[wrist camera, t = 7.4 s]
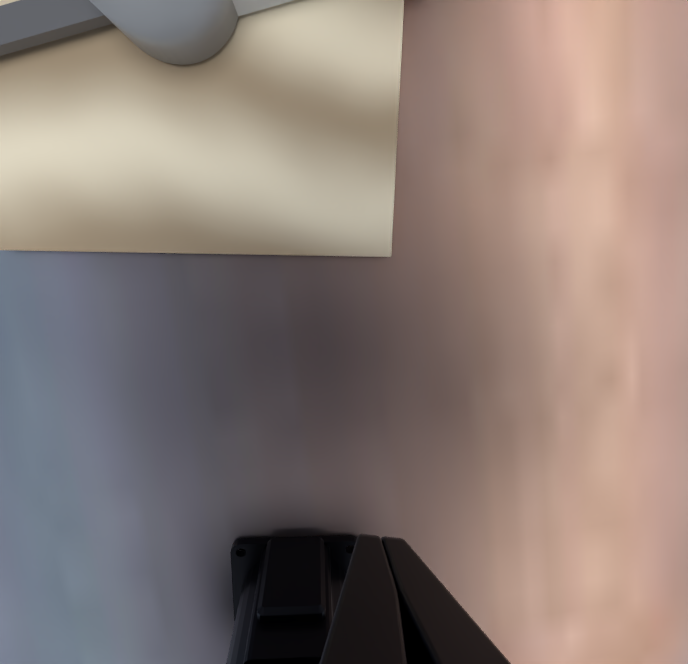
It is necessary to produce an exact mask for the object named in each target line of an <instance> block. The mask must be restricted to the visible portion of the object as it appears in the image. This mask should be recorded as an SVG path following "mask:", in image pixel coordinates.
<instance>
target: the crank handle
mask: <svg viewBox="0 0 688 664" xmlns="http://www.w3.org/2000/svg"><path fill="white" fill-rule="evenodd" d="M290 1H294V0H19V1H15V2H12V3H8V4H5V5H1V6H0V56H2V55H5V54H9V53H12V52H16V51H19V50H23V49H26V48H30V47H33V46H37V45H40V44H44V43H47V42H51V41H54V40H58V39H61V38H65V37H68V36H72V35H75V34H79V33H82V32H86V31H89V30H93V29H96V28H100V27H103V26H107V25H110V24H114V25H115V26H116V27H117V28H118V29H119V30H120V31H121V32H123V33H124V34H125V35H126V36H127V37H128V38H129V39H130V40H131V41H132V42H133V43H134V44H135V45H136V46H137V47H138V48H140V49H141V50H142V51H144V52H145V53H146V54H148V55H150V56H152V57H153V58H155V59H158V60H160V61H163V62H166V63H170V64H178V65H187V64H194V63H198V62H201V61H203V60H206V59H208V58H209V57H211V56H213V55H214V54H215V53H217V52H218V51H219V50H220V49H221V48H222V47H223V46H224V45H225V44H226V42H227V41H228V40H229V38H230V36H231V35H232V33H233V31H234V28H235V26H236V23H237V20H238V16H241V15H245V14H248V13H252V12H255V11H259V10H262V9H266V8H269V7H273V6H276V5H280V4H283V3H287V2H290Z"/></svg>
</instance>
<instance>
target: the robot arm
mask: <svg viewBox="0 0 688 664" xmlns="http://www.w3.org/2000/svg"><path fill="white" fill-rule="evenodd" d="M350 545H352V546H353V547H351V548H348V547H347V546H350ZM240 548H242V549H244V551H240V550H239V549H240ZM231 567H232V584H233V602H234V620H235V624H234V629H233V634H232V639H231V644H230V648H229V653H228V658H227V663H226V664H511V663H510V662H509V661H508V660H507V659H506V658H505V656H504V655H503V654H502V653H501V652H500V651H499V649H498V648H497V647H496V646H495V645H494V644H493V642H492V641H491V640H490V639H489V638H488V637H487V635H486V634H485V633H484V632H483V631H482V630H481V628H480V627H479V626H478V625H477V624H476V623H475V621H474V620H473V619H472V618H471V617H470V616H469V614H468V613H467V612H466V611H465V610H464V609H463V608H462V606H461V605H460V604H459V603H458V602H457V601H456V599H455V598H454V597H453V596H452V595H451V594H450V592H449V591H448V590H447V589H446V588H445V587H444V585H443V584H442V583H441V582H440V581H439V580H438V578H437V577H436V576H435V575H434V574H433V573H432V571H431V570H430V569H429V568H428V567H427V566H426V564H425V563H424V562H423V561H422V560H421V559H420V557H419V556H418V555H417V554H416V553H415V552H414V550H413V549H412V548H411V547H410V546H409V545H408V543H407V542H406V541H405V540H403V539H401V538H394V537H382V538H380V537H379V536H376V535H366V534H360V535H358V537H355V536H313V537H276V538H241V539H237V540H236V541H235V542H234V543H233V545H232V549H231Z"/></svg>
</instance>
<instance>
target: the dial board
mask: <svg viewBox="0 0 688 664" xmlns="http://www.w3.org/2000/svg"><path fill="white" fill-rule="evenodd" d="M15 1H19V0H0V6H1V5H5V4H8V3H12V2H15ZM403 13H404V0H294V1H290V2H287V3H283V4H280V5H276V6H273V7H269V8H266V9H262V10H259V11H255V12H252V13H248V14H245V15H241V16H238V20H237V23H236V26H235V28H234V31H233V33H232V35H231V36H230V38H229V40H228V41H227V42H226V44H225V45H224V46H223V47H222V48H221V49H220V50H219V51H218V52H217V53H215V54H214V55H213V56H211V57H209V58H208V59H206V60H203V61H201V62H198V63H194V64H187V65H178V64H170V63H166V62H163V61H160V60H158V59H155V58H153V57H152V56H150V55H148V54H146V53H145V52H144V51H142V50H141V49H140V48H138V47H137V46H136V45H135V44H134V43H133V42H132V41H131V40H130V39H129V38H128V37H127V36H126V35H125V34H124V33H123V32H121V31H120V30H119V29H118V28H117V27H116V26H115V25H114V24H110V25H107V26H103V27H100V28H96V29H93V30H89V31H86V32H82V33H79V34H75V35H72V36H68V37H65V38H61V39H58V40H54V41H51V42H47V43H44V44H40V45H37V46H33V47H30V48H26V49H23V50H19V51H16V52H12V53H9V54H5V55H2V56H0V250H24V251H81V252H138V253H195V254H252V255H309V256H366V257H391V250H392V230H393V211H394V191H395V171H396V151H397V132H398V112H399V92H400V72H401V53H402V33H403Z"/></svg>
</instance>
